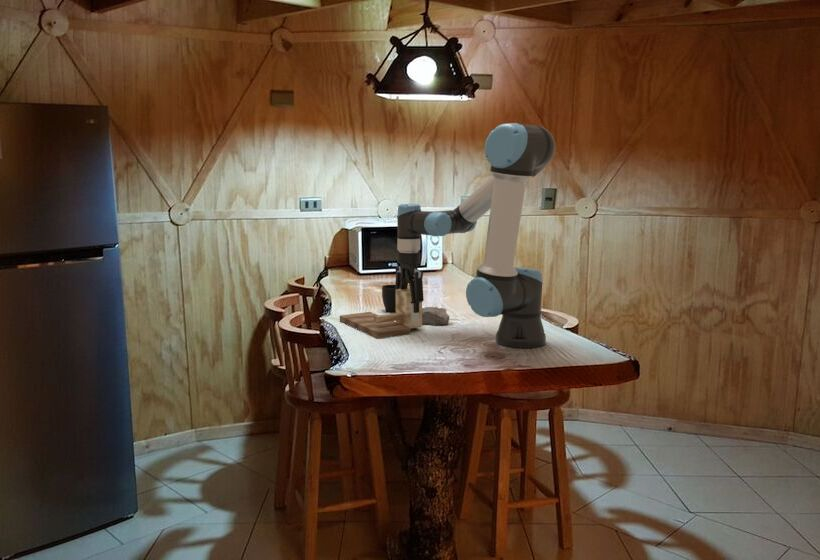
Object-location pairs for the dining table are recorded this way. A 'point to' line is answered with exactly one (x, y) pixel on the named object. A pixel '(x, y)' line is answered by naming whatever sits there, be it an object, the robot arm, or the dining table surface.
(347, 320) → the board
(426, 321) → the stone
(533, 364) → the dining table surface
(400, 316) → the beige block with bar
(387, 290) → the mug
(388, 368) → the dining table surface
